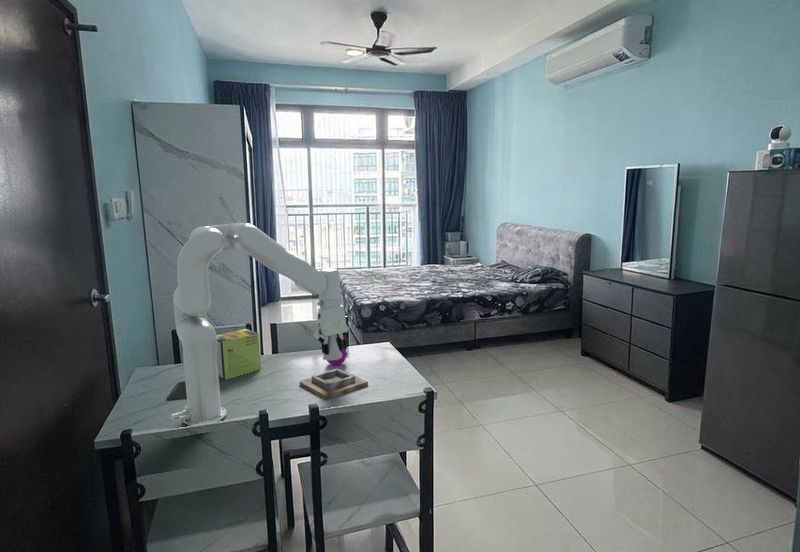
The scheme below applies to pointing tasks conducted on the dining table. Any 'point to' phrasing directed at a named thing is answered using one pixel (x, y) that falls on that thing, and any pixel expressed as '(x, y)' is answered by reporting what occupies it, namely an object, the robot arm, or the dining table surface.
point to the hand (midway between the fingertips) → (332, 351)
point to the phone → (178, 391)
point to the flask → (333, 349)
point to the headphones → (341, 360)
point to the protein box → (238, 353)
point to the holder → (333, 383)
